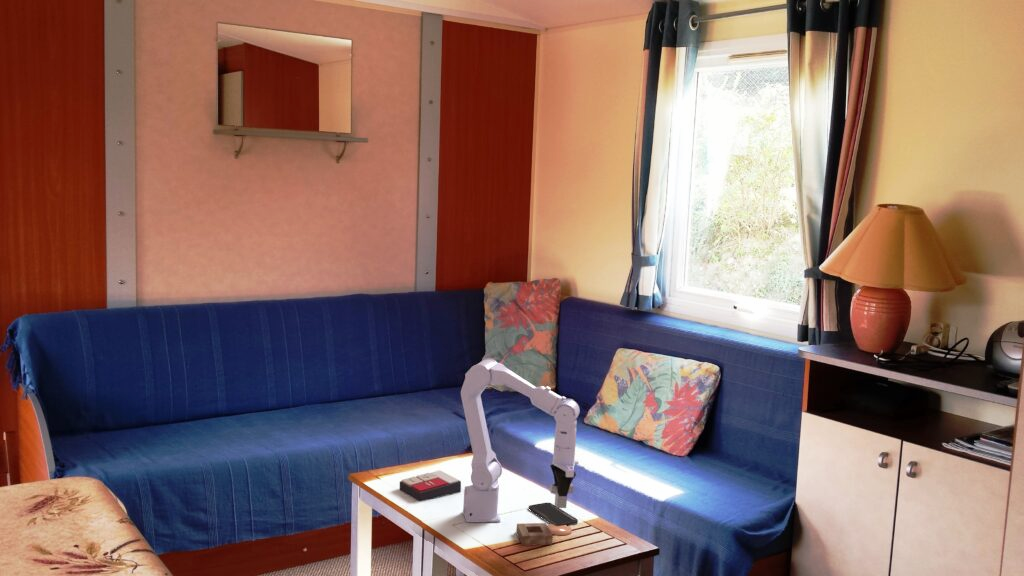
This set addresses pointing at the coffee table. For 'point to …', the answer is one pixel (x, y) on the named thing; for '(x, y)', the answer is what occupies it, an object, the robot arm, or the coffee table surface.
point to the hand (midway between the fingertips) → (561, 493)
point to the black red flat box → (430, 485)
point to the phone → (553, 514)
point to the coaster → (559, 529)
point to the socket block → (534, 534)
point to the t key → (560, 500)
